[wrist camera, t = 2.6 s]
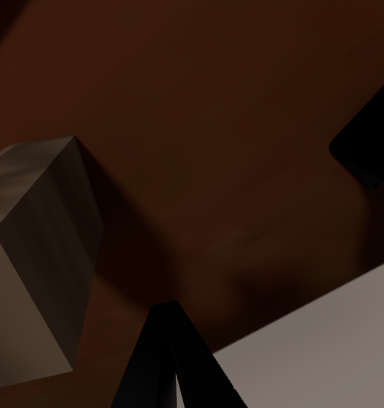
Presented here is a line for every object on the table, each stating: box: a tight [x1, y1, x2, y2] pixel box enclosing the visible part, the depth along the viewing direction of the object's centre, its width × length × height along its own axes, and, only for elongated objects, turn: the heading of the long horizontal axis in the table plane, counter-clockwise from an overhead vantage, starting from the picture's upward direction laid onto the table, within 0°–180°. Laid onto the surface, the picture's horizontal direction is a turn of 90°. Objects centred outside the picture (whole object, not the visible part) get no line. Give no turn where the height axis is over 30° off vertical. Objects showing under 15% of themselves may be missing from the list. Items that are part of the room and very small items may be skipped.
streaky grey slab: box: [0, 135, 104, 387], centre depth 14 cm, size 4×7×11 cm, turn 7°
